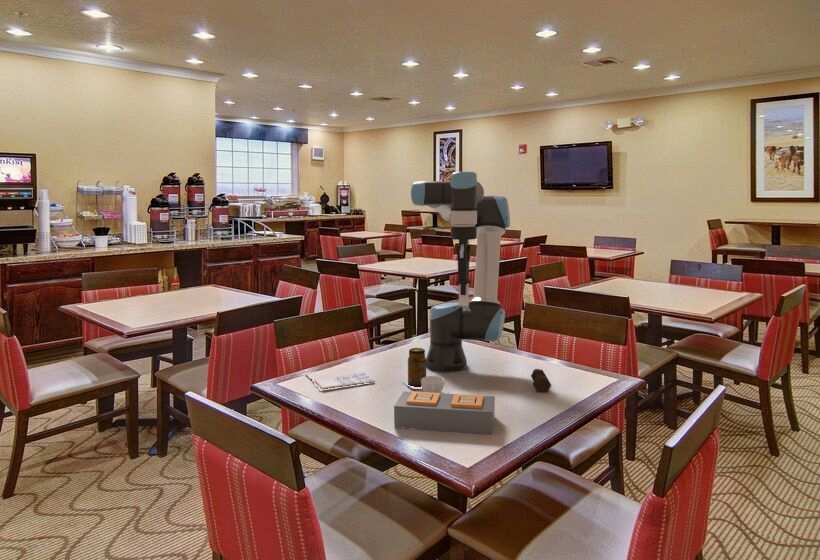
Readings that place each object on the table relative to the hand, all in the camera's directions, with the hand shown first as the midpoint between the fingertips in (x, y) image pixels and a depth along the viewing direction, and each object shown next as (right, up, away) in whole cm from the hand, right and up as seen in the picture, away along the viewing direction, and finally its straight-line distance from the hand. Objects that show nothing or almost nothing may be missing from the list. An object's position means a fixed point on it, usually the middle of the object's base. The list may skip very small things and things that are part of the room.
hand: (463, 305), depth 164 cm
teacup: (-9, -29, +11) cm, 32 cm away
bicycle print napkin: (-40, -27, +26) cm, 55 cm away
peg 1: (-12, -31, -12) cm, 36 cm away
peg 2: (0, -32, -14) cm, 35 cm away
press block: (-6, -31, -13) cm, 35 cm away
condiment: (-13, -28, +18) cm, 36 cm away
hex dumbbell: (+27, -27, +18) cm, 42 cm away
